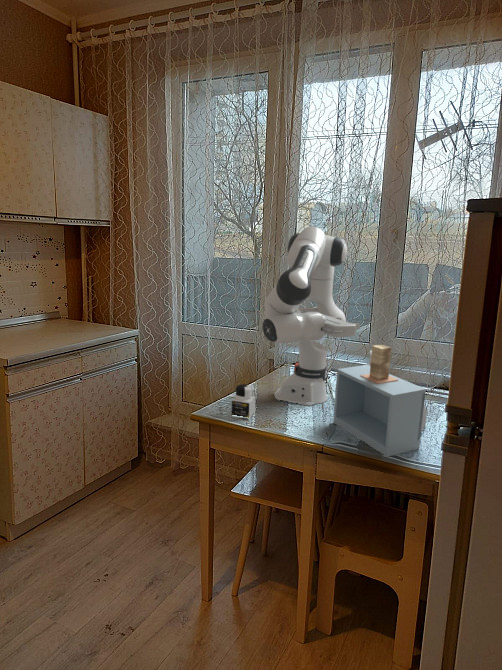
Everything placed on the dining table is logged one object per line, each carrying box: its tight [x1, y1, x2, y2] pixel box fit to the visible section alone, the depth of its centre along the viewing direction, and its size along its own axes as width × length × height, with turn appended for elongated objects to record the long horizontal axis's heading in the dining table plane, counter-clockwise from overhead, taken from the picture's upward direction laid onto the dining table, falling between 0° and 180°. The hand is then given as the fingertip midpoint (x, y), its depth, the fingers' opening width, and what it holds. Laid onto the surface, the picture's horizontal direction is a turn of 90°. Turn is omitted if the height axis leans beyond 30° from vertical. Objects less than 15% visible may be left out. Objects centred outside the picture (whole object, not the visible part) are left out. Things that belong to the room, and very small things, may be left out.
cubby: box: [333, 364, 427, 458], centre depth 167 cm, size 14×29×22 cm, turn 27°
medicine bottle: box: [231, 383, 256, 418], centre depth 183 cm, size 7×7×12 cm
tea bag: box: [421, 404, 428, 432], centre depth 175 cm, size 4×7×10 cm, turn 147°
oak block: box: [370, 344, 392, 380], centre depth 163 cm, size 4×4×11 cm
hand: (348, 322), depth 153 cm, fingers open, 8 cm apart
